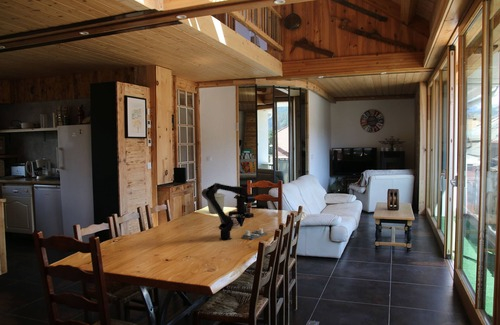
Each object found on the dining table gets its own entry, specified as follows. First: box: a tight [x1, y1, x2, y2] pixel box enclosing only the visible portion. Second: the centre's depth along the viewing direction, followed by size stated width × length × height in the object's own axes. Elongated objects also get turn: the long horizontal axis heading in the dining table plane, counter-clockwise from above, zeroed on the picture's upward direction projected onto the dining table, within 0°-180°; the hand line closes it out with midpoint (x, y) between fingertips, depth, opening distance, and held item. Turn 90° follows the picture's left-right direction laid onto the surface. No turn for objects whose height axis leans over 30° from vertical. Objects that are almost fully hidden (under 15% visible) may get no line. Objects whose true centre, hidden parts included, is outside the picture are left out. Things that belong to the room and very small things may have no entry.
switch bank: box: [241, 230, 268, 241], centre depth 270 cm, size 18×9×2 cm, turn 142°
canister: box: [206, 191, 226, 215], centre depth 367 cm, size 18×18×21 cm
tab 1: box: [244, 230, 251, 236], centre depth 267 cm, size 3×3×3 cm
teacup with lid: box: [230, 215, 246, 229], centre depth 301 cm, size 12×9×12 cm
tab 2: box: [258, 228, 265, 233], centre depth 272 cm, size 3×3×3 cm
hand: (241, 226), depth 270 cm, fingers closed
